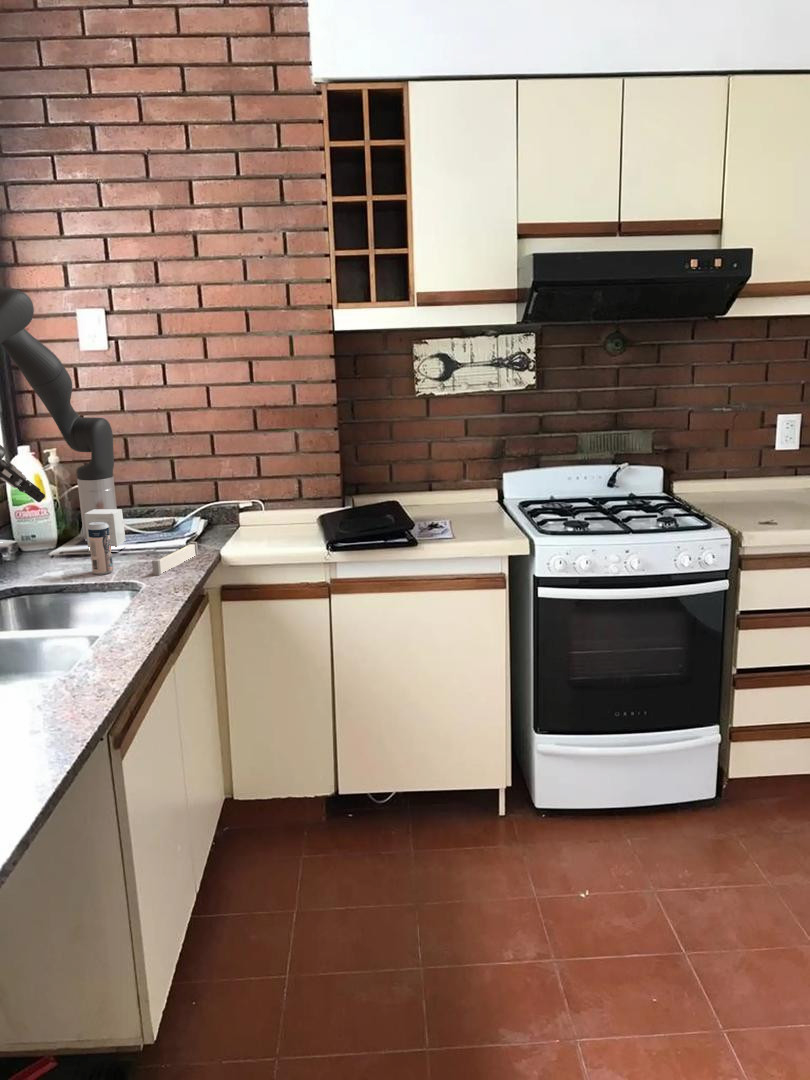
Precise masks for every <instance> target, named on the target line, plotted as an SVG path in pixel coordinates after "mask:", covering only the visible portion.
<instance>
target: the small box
mask: <svg viewBox="0 0 810 1080" xmlns="http://www.w3.org/2000/svg"><path fill="white" fill-rule="evenodd" d="M84 518H85V526H86V534H87V542H86V543H87V548H88V547H90V543H89V534H88V526H89V523H92V522H97V521H104V522H106V523H107V524H108V525H109V534H110V544H111V546H115V547H117V546H119V545H120V544H122V543H123V542H124V541H126V533H125V525H124V515H123V509H122V508H121V509H120V508H117V509H93V510H91V511H89V512H87V513H85V514H84ZM126 542H127V541H126Z"/></svg>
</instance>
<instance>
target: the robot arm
mask: <svg viewBox="0 0 810 1080" xmlns="http://www.w3.org/2000/svg"><path fill="white" fill-rule="evenodd" d="M34 312H35V308H34V303H33V300H32V299H31V298H30V296H29V295H28V294H27V293H26V292H23V291H21V290H18V289H14V288H8V287H2V286H0V345H1V346H2V347H3V349H4V350H5V351H6V353H7V354H8V355H9V357H10V358H11V359H12V361H13V363H14V364H15V365H16V367H17V368H18V369H19V371H20V372H21V373H22V375H23V376H24V378H25V380H26V381H27V383H28V384H29V386H30V388H32V390H33V391H34V393H35V394H36V395H37V397H38V398H39V399H40V400H41V402H42V404H43V405H44V407H45V408H46V409H47V411H48V412H49V414H50V416H51V418H52V420H53V421H54V423H55V424H56V426H57V428H58V430H59V431H60V434H61V435H62V437H63V439H64V441H65V443H66V444H67V445H68V447H70V449H71V450H73V451H75V452H76V453H77V452H78V453H91V457H90V458H91V459H90V461H89V462H88V463H86V464H83V465H81V466H79V467H77V469H76V481H77V488H78V496H79V498H78V499H79V504H80V506H79V507H80V515H81V516H80V517H81V522H82V533H83V534H82V535H83V540H84V539H87V534H86V526H85V518H84V514H85V513H87V512H89V511H91V510H93V509H118V506H117V497H116V488H115V478H114V466H115V455H114V454H115V453H114V435H113V429H112V426H111V423H110V422H109V421H108V420H107V419H106V418H104V417H89V416H88V417H86V416H85V417H82V416H80V415H79V414H78V413H77V412H76V410H75V409H74V408H73V405H72V404H71V401H72V394H73V393H72V392H73V380H72V377H71V375H70V374H69V372H68V371H67V369H66V367H65V366H64V364H63V363H62V361H61V360H60V358H59V357H57V355H56V354H55V353H54V352H53V351H51V350H50V349H49V348H48V347H47V346H46V345H45V344H43V343H42V342H41V341H39V340H38V339H37V338H35V337H34V336H33V335H32V334H31V333H30V332H29V331H28V330H27V329H26V328H27V327H28V326H29V325H30V324H31V322H32V320H33V318H34ZM6 454H7V449H6V448H5V447H4V446H2V444H0V480H1V481H3V482H4V483H5V482H6V483H7V484H8V485H10V486H11V488H14V489H17V490H18V491H19V492H20V493H24V494H26V495H27V496H28V497H30V498H32V499H33V500H34V501H35V502H37V503H41V502H42V501H43V500H44V499H45V498H46V494H45V493H44V492H42V491H41V489H40V488H39V487H38V486H37V485H35V484H34V483H33V482H31V481H30V480H28V478H27V477H26V476H25V475H24V474H23V471H21V470H20V469H18V468H17V466H15V465H14V464H13V463H12V462H11V461H8V462H6V461H5V460H4V457H5V455H6Z"/></svg>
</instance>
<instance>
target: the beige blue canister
mask: <svg viewBox="0 0 810 1080" xmlns="http://www.w3.org/2000/svg"><path fill="white" fill-rule="evenodd" d="M88 534H89V543H90V552H91V553H90V558H91V569H92V573H93V574H95V575H99V576H101V575H102V576H103V575H108V574H111V572H113V571H114V564H113V555H112V554H113V553H111V544H110V534H109V525H108V524H107V523H106V522H104V521H97V522H92V523H89V526H88Z"/></svg>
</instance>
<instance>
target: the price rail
mask: <svg viewBox="0 0 810 1080" xmlns="http://www.w3.org/2000/svg"><path fill="white" fill-rule="evenodd" d="M194 556H195V557H197V556H199V549H198V542H197V541H191V542H190V541H189V544H188V545H186V546H185V547H182V548H180V549H177V550H175V551H174V552H172V553H169V554H168V555H165V556H163V557H162V558H159V559H157V560H156V559H153V560H151V565H152V566H151V567H152V575H153V576H161V575H162V574H163V572H164V573H166V572H167V571H169V569H170V570H171V568H172V569H173V568H175V567H177V566H179V565H181V564H182V563H184V561H185V562H187V561H189V560H190V558H191V559H193V558H195V557H194ZM192 557H193V558H192ZM188 559H189V560H188ZM186 560H187V561H186ZM165 571H166V572H165Z"/></svg>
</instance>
